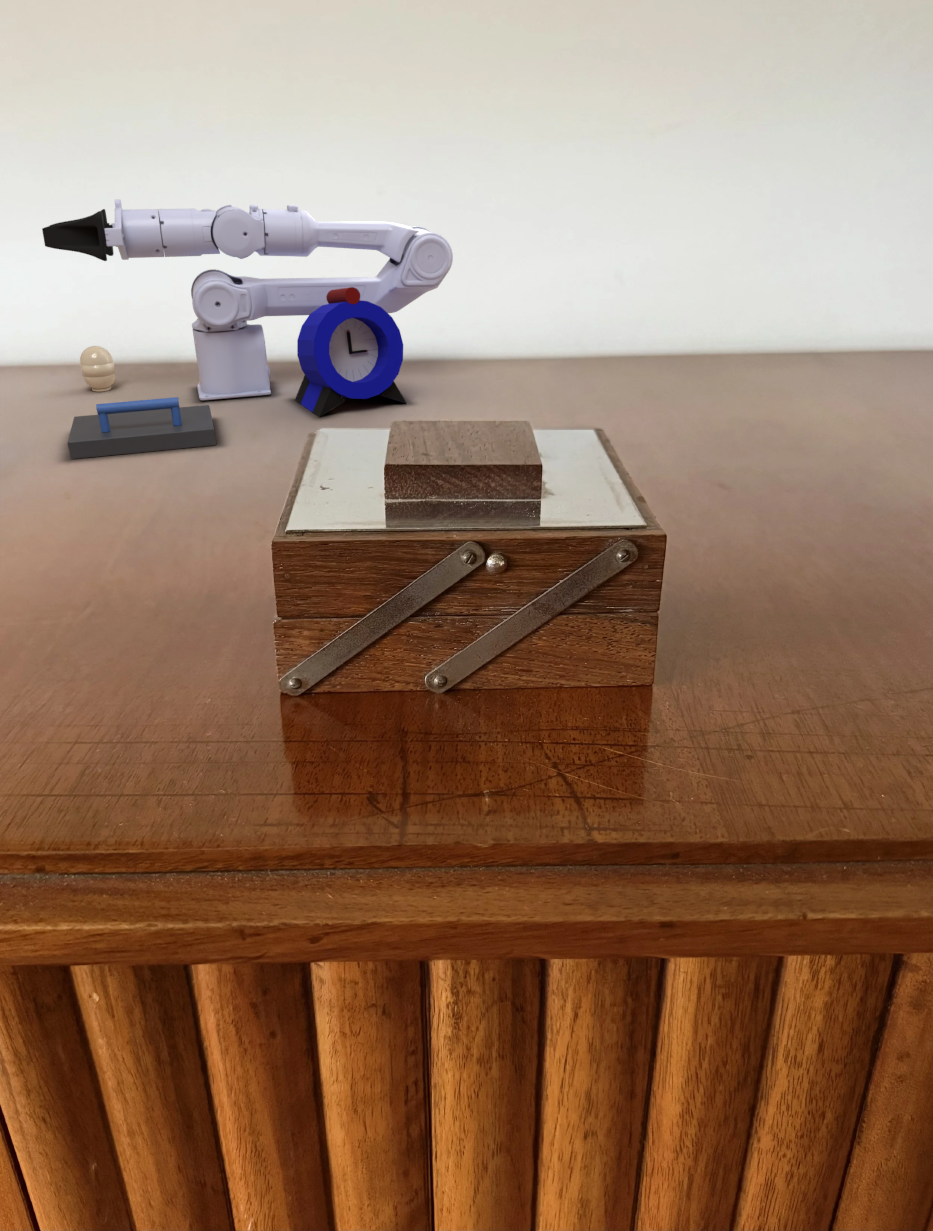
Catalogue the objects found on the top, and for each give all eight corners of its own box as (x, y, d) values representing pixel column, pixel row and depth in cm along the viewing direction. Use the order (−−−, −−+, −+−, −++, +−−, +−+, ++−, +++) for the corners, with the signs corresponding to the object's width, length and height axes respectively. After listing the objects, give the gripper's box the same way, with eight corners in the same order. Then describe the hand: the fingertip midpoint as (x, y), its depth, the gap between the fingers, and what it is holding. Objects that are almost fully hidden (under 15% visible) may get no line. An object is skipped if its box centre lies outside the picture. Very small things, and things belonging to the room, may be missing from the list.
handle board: (211, 420, 124) (205, 378, 122) (216, 445, 114) (210, 400, 112) (77, 432, 120) (68, 390, 118) (70, 459, 111) (61, 413, 108)
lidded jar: (118, 384, 141) (111, 341, 139) (117, 391, 138) (109, 347, 135) (86, 386, 140) (78, 344, 138) (84, 394, 137) (76, 350, 134)
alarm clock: (321, 418, 124) (310, 294, 117) (289, 396, 133) (278, 280, 127) (409, 405, 129) (404, 285, 122) (373, 384, 138) (366, 272, 132)
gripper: (158, 197, 130) (48, 198, 127) (155, 200, 117) (34, 201, 114) (165, 254, 133) (58, 257, 130) (163, 262, 120) (45, 266, 117)
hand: (47, 235), depth 122 cm, fingers open, 7 cm apart
